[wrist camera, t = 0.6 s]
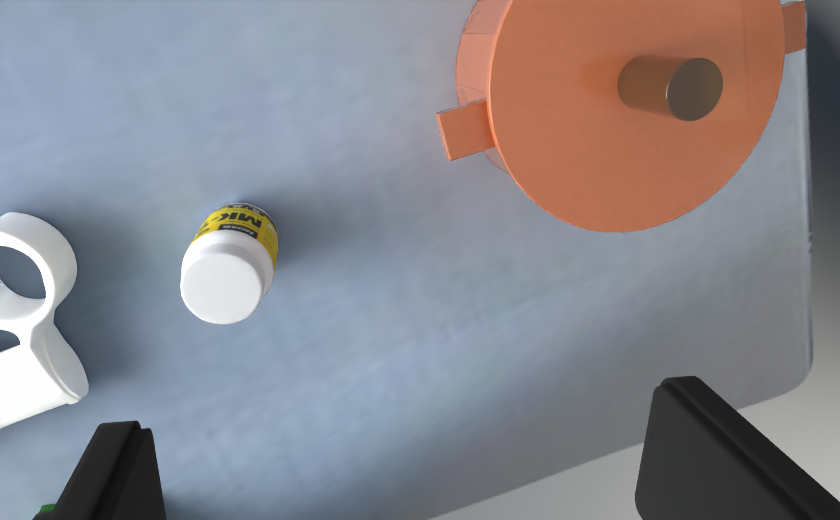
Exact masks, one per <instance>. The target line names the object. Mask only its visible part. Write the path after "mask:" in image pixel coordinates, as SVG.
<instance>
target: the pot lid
mask: <svg viewBox="0 0 840 520" xmlns="http://www.w3.org/2000/svg"><path fill="white" fill-rule="evenodd" d="M784 58H785V31H784V20H783V13H782V9H781V4H780V0H509V1H508V3H507V5H506V7H505V10H504V12H503V14H502V16H501V18H500V21H499V24H498V27H497V29H496V32H495V35H494V38H493V42H492V46H491V51H490V56H489V61H488V68H487V80H486V101H487V112H488V118H489V125H490V130H491V133H492V136H493V140H494V143H495V146H496V149H497V151H498V153H499V156H500V158H501V160H502V162H503V164H504V166H505V168H506V169H507V171H508V172H509V174H510V176H511V177H512V179H513V180H514V182H515V183H516V184H517V185H518V186H519V188H520V189H521V190H522V191H523V192H524V193H525V195H527V196H528V197H529V198H530V199H531V200H532V201H533V202H535V203H536V204H537V205H538V206H539V207H540V208H542V209H543V210H545V211H546V212H548V213H550V214H551V215H553V216H554V217H556V218H558V219H560V220H562V221H564V222H566V223H569V224H571V225H573V226H577V227H580V228H584V229H587V230H593V231H600V232H630V231H637V230H643V229H647V228H651V227H654V226H658V225H661V224H664V223H666V222H669V221H671V220H674V219H676V218H678V217H680V216H682V215H684V214H685V213H687V212H689V211H691V210H693V209H694V208H696V207H697V206H699V205H700V204H702V203H703V202H704V201H706V200H707V199H709V198H710V197H711V196H712V195H713V194H715V193H716V192H717V191H718V190H719V189H720V188H721V187H723V186H724V185H725V184H726V183H727V182H728V180H729V179H730V178H731V177H732V176H733V175H734V174H735V173H736V172H737V171H738V170H739V168H740V167H741V166H742V164H743V163H744V162H745V160H746V159H747V158H748V156H749V155H750V154H751V152H752V150H753V149H754V147H755V145H756V144H757V142H758V141H759V139H760V137H761V135H762V133H763V131H764V129H765V127H766V125H767V123H768V121H769V119H770V116H771V113H772V110H773V108H774V105H775V102H776V99H777V95H778V91H779V87H780V83H781V79H782V73H783V65H784Z"/></svg>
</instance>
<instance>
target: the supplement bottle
mask: <svg viewBox="0 0 840 520" xmlns="http://www.w3.org/2000/svg"><path fill="white" fill-rule="evenodd" d="M278 248H279V233H278V230H277V227H276V225H275V223H274V221H273V220H272V218H271V217H270V216H269V215H268V214H267V213H266V212H265V211H263V210H262V209H260V208H258V207H256V206H254V205H251V204H247V203H230V204H227V205H224V206H221V207H219V208H217V209H216V210H214V211H213V212H212V213H211V214H210V215H209V216H208V217H207V218H206V220H205V221H204V223H203V225H202V226H201V228H200V230H199V231H198V233H197V235H196V236H195V238H194V240H193V241H192V243H191V244H190V246H189V248H188V250H187V251H186V254H185V256H184V259H183V263H182V279H181V295H182V298H183V300H184V302H185V304H186V306H187V307H188V308H189V310H190V311H191V312H192V313H193V314H195V315H196V316H197V317H199V318H201V319H202V320H205V321H207V322H210V323H214V324H231V323H236V322H239V321H241V320H243V319H245V318H247V317H248V316H249V315H251V314H252V313H253V312H254V311H255V310H256V308H257V307H258V305H259V303H260V301H261V300H262V299H263V298H264V296H265V295H266V294H267V292H268V291H269V289H270V287H271V284H272V281H273V277H274V271H275V265H276V260H277V254H278Z"/></svg>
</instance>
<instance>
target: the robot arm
mask: <svg viewBox="0 0 840 520" xmlns="http://www.w3.org/2000/svg"><path fill="white" fill-rule="evenodd" d="M635 503H636V508H637V510H638V513H639V514H640V516H641V517H642V519H643V520H840V502H839V501H838V500H837V499H836V498H835V497H833V496H832V495H831V494H830V493H829V492H828V491H827V490H826V489H824V488H823V487H822V486H821V485H820V484H819V483H818V482H816V481H815V480H814V479H813V478H812V477H811V476H810V475H808V474H807V473H806V472H805V471H804V470H803V469H801V468H800V467H799V466H798V465H797V464H796V463H795V462H794V461H793V460H791V459H790V458H789V457H788V456H787V455H785V453H783V452H782V451H781V450H780V449H779V448H778V447H776V446H775V445H774V444H773V443H772V442H771V441H770V440H769V439H768V438H766V437H765V436H764V435H763V434H762V433H761V432H759V431H758V430H757V429H756V428H755V427H754V426H753V425H751V424H750V423H749V422H748V421H747V420H746V419H745V418H744V417H742V416H741V415H740V414H739V413H738V412H737V411H736V410H735V409H733V408H732V407H731V406H730V405H729V404H728V403H727V402H725V401H724V400H723V399H722V398H721V397H720V396H719V395H717V394H716V393H715V392H714V391H713V390H712V389H711V388H710V387H708V386H707V385H706V384H705V383H704V382H703V381H702V380H700V379H699V378H697V377H696V376H685V377H672V378H666V379H664V380H663V381H662V383H661V385H660V386H658V387H656V388H655V390H654V393H653V398H652V403H651V409H650V414H649V420H648V426H647V431H646V437H645V442H644V448H643V453H642V459H641V464H640V470H639V475H638V481H637V487H636V492H635ZM33 520H166V514H165V508H164V501H163V495H162V489H161V483H160V477H159V470H158V464H157V458H156V452H155V446H154V439H153V434H152V431H151V429H150V428H146V429H141V426H140V424H139V422H138V421H125V422H112V423H102V424H100V425H99V426H98V428H97V429H96V431H95V433H94V435H93V437H92V439H91V440H90V442H89V444H88V446H87V448H86V450H85V452H84V453H83V455H82V457H81V459H80V461H79V463H78V465H77V466H76V468H75V470H74V472H73V474H72V476H71V478H70V479H69V481H68V483H67V485H66V487H65V489H64V491H63V492H62V494H61V496H60V498H59V500H58V502H57V504H56V505H55V507H54V509H53V510H43V511H41V512H39V513H38V514H36V516H35V517H34V518H33Z"/></svg>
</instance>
